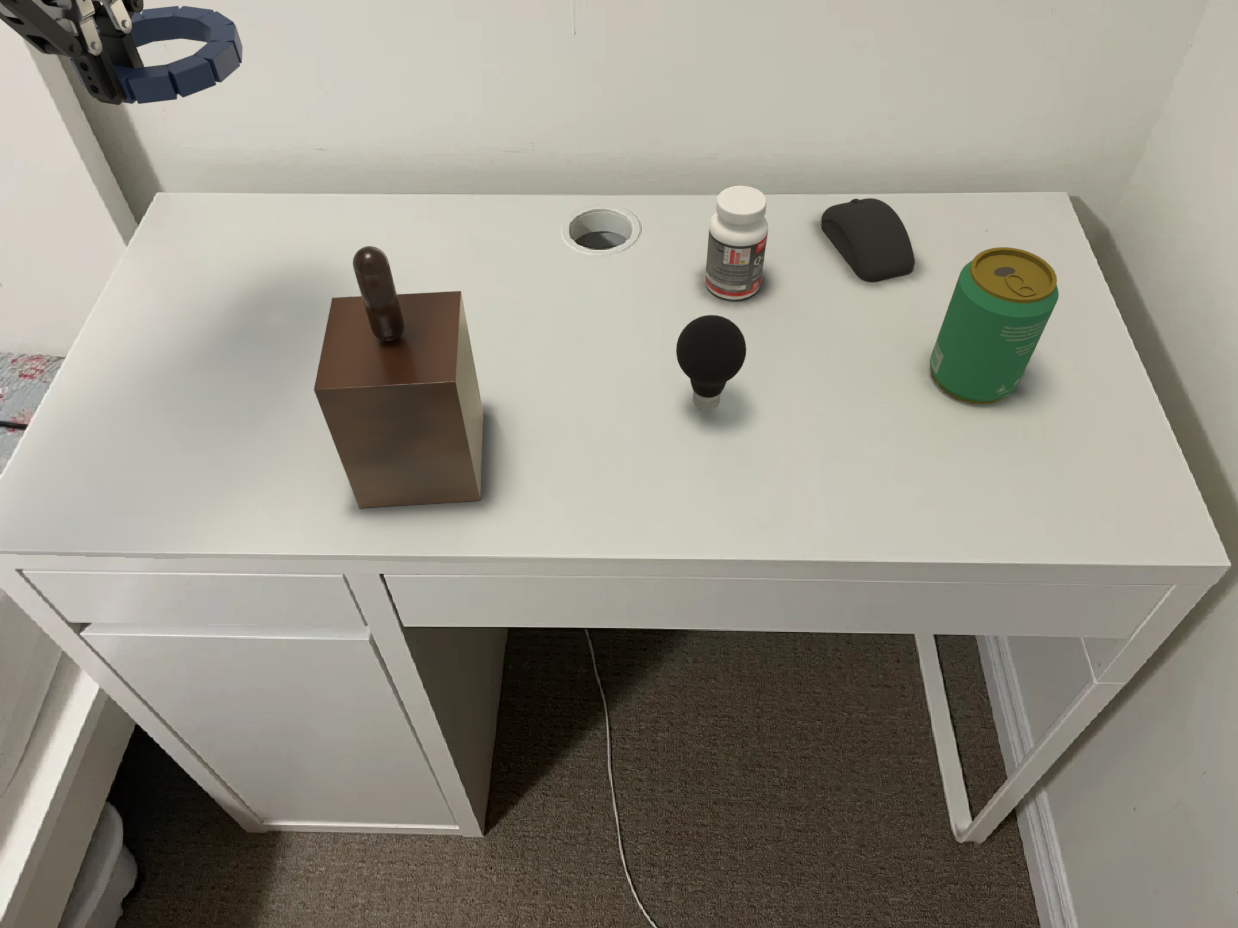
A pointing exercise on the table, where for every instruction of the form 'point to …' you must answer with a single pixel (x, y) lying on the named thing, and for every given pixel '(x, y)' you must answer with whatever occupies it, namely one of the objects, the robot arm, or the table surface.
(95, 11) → the robot arm
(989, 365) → the beverage can
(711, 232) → the pill bottle
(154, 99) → the ring
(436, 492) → the stand
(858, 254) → the computer mouse
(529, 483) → the table surface
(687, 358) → the light bulb
